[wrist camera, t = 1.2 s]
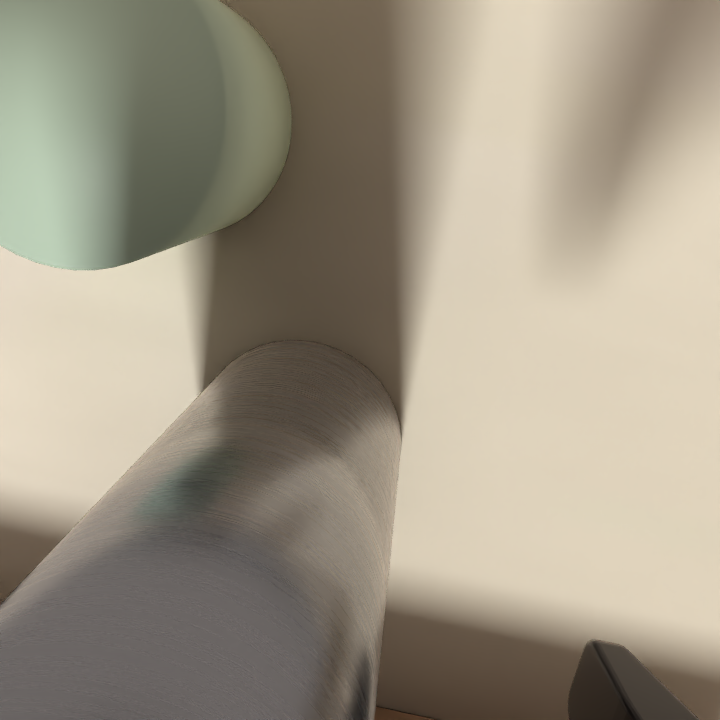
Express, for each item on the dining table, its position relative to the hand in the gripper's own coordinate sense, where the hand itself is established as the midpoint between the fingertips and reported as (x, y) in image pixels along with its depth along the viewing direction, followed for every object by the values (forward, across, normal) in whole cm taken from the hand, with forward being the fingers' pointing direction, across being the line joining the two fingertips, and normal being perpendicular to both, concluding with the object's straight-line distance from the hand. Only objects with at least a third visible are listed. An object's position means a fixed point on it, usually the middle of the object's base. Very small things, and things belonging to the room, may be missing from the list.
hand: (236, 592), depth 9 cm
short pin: (+5, +3, -6) cm, 8 cm away
